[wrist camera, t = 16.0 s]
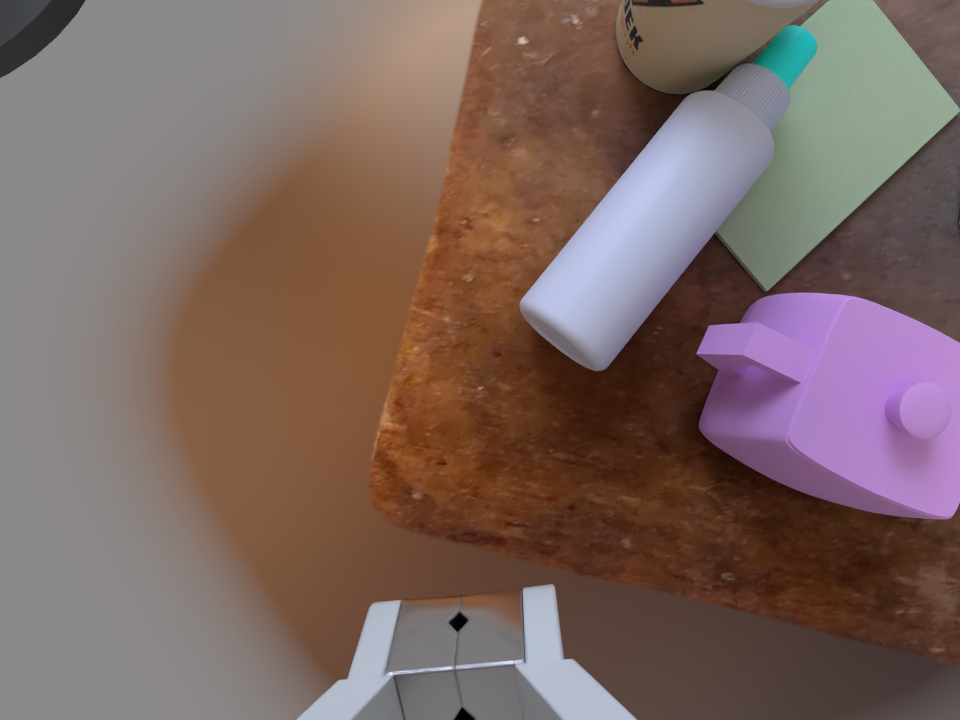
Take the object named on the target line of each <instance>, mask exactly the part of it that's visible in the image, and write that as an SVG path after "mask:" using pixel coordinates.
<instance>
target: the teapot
mask: <svg viewBox="0 0 960 720" xmlns="http://www.w3.org/2000/svg"><path fill="white" fill-rule="evenodd" d="M697 355H698V356H700V357H701V358H702V359H704V360H705V361H707V362H708V363H709V364H711V365H712V366H713V367H715V368H716V369H718V372H717V375H716V377H715V380H714V382H713V385H712V387H711V390H710V392H709V395H708V398H707V400H706V403H705V405H704V408H703V411H702V414H701V417H700V421H699V430H700V431H701V433H702V434H703V436H704V437H706V438H707V439H708V440H709V441H710V442H711V443H712V444H714V445H715V446H717V447H718V448H720V449H721V450H723V451H724V452H725V453H727V454H729V455H730V456H732V457H733V458H735V459H737V460H738V461H740V462H742V463H743V464H745V465H747V466H748V467H750V468H752V469H754V470H756V471H757V472H759V473H761V474H763V475H765V476H767V477H769V478H771V479H773V480H775V481H777V482H779V483H781V484H783V485H786V486H788V487H790V488H793V489H795V490H798V491H800V492H803V493H806V494H808V495H811V496H814V497H817V498H820V499H824V500H827V501H830V502H833V503H837V504H841V505H844V506H848V507H852V508H855V509H859V510H864V511H868V512H874V513H879V514H886V515H893V516H901V517H911V518H924V519H950V518H951V517H952V516H953V515H954V513H955V511H956V509H957V507H958V505H959V503H960V343H959V342H957V341H955V340H953V339H952V338H950V337H948V336H946V335H944V334H942V333H941V332H939V331H937V330H935V329H933V328H931V327H929V326H927V325H925V324H923V323H921V322H918V321H916V320H914V319H912V318H910V317H907V316H905V315H903V314H901V313H898V312H896V311H894V310H891V309H889V308H886V307H884V306H881V305H879V304H876V303H874V302H871V301H868V300H865V299H862V298H858V297H853V296H846V295H835V294H822V293H786V294H777V295H771V296H766V297H763V298H761V299H759V300H757V301H756V302H755V303H753V304H752V305H751V306H750V307H749V308H748V309H747V311H746V312H745V314H744V316H743V317H742V319H741V321H740V323H738V324H722V325H709V327H708V329H707V331H706V333H705V336H704V338H703V340H702V342H701V345H700V347H699V349H698V351H697Z"/></svg>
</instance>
